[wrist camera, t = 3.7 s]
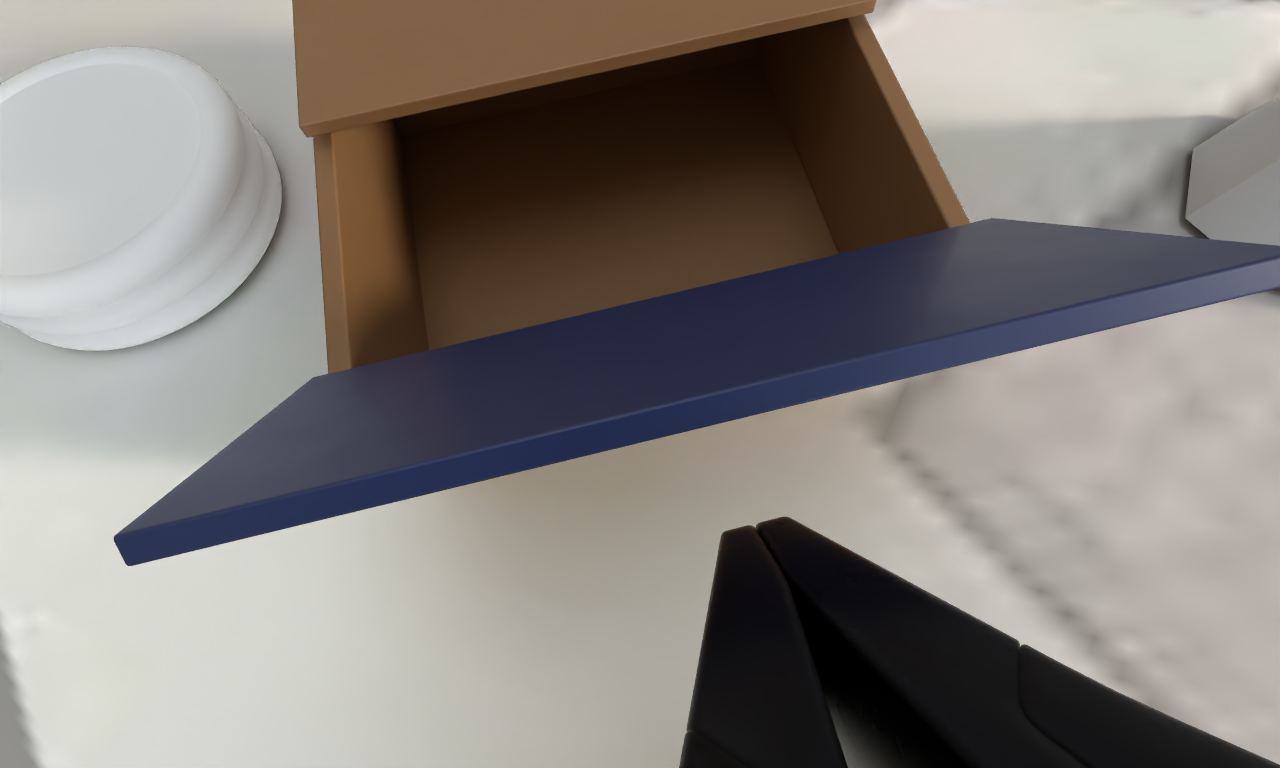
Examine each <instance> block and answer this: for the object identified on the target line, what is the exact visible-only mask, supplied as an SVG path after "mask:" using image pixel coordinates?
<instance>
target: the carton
mask: <svg viewBox="0 0 1280 768" xmlns="http://www.w3.org/2000/svg"><path fill="white" fill-rule="evenodd" d="M292 4H293V22H294V41H295V59H296V78H297V96H298V115H299V127H300V128H301V130H302V131H303V133H304V134H305V135H306V137H313V141H314V157H315V173H316V188H317V204H318V219H319V235H320V251H321V266H322V282H323V298H324V313H325V329H326V345H327V360H328V374H330V373H334V372H339V371H343V370H347V369H351V368H356V367H360V366H364V365H368V364H373V363H377V362H381V361H385V360H390V359H394V358H398V357H403V356H407V355H411V354H415V353H420V352H424V351H428V350H432V349H437V348H441V347H445V346H449V345H454V344H458V343H462V342H466V341H471V340H475V339H479V338H484V337H488V336H492V335H496V334H501V333H505V332H509V331H513V330H518V329H522V328H526V327H530V326H535V325H539V324H543V323H547V322H552V321H556V320H560V319H565V318H569V317H573V316H577V315H582V314H586V313H590V312H594V311H599V310H603V309H607V308H611V307H616V306H620V305H624V304H628V303H633V302H637V301H641V300H646V299H650V298H654V297H658V296H663V295H667V294H671V293H675V292H680V291H684V290H688V289H692V288H697V287H701V286H705V285H709V284H714V283H718V282H722V281H727V280H731V279H735V278H739V277H744V276H748V275H752V274H756V273H761V272H765V271H769V270H773V269H778V268H782V267H786V266H790V265H795V264H799V263H803V262H807V261H812V260H816V259H820V258H825V257H829V256H833V255H837V254H842V253H846V252H850V251H854V250H859V249H863V248H867V247H871V246H876V245H880V244H884V243H888V242H893V241H897V240H901V239H906V238H910V237H914V236H918V235H923V234H927V233H931V232H935V231H940V230H944V229H948V228H952V227H957V226H961V225H965V224H969V223H970V222H969V220H968V218H967V216H966V214H965V212H964V210H963V208H962V206H961V204H960V202H959V200H958V198H957V196H956V194H955V192H954V190H953V188H952V186H951V184H950V182H949V180H948V178H947V177H946V175H945V173H944V171H943V169H942V167H941V165H940V163H939V161H938V159H937V157H936V155H935V153H934V151H933V149H932V147H931V145H930V143H929V141H928V139H927V137H926V135H925V133H924V131H923V129H922V127H921V125H920V123H919V121H918V120H917V118H916V116H915V114H914V112H913V110H912V108H911V106H910V104H909V102H908V100H907V98H906V96H905V94H904V92H903V90H902V88H901V86H900V84H899V82H898V80H897V78H896V76H895V74H894V72H893V70H892V68H891V66H890V65H889V63H888V61H887V59H886V57H885V55H884V53H883V51H882V49H881V47H880V45H879V43H878V41H877V39H876V37H875V35H874V33H873V31H872V29H871V27H870V25H869V23H868V21H867V19H866V17H865V15H864V14H867V13H872V12H873V11H874V7H875V4H876V0H292Z"/></svg>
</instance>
